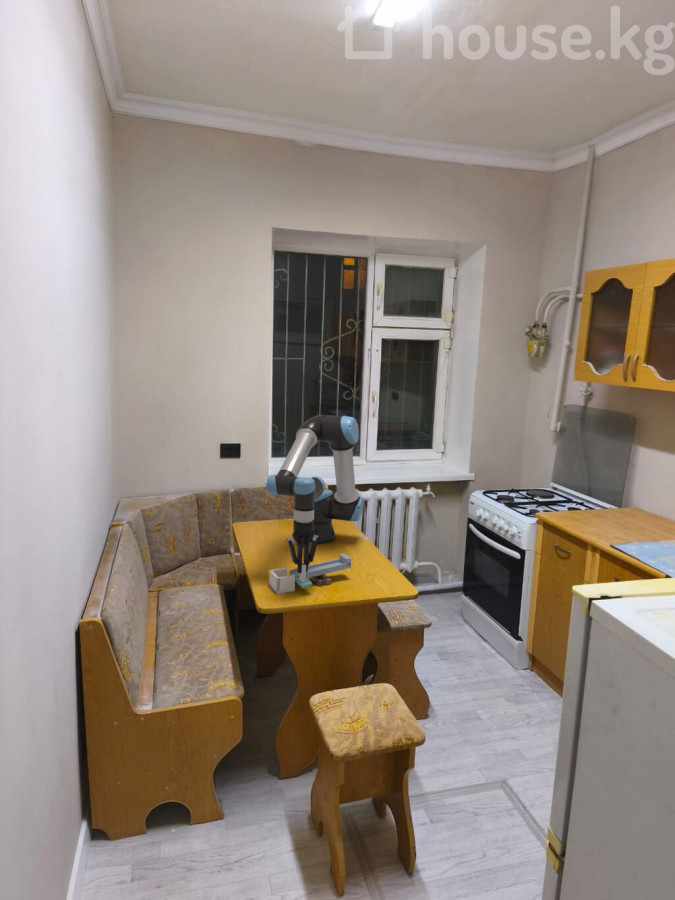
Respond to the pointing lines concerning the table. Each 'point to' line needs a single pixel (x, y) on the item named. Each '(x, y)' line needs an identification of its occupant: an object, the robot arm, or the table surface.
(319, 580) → the brown recessed block
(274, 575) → the bin
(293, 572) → the lever
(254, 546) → the table surface
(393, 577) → the table surface
